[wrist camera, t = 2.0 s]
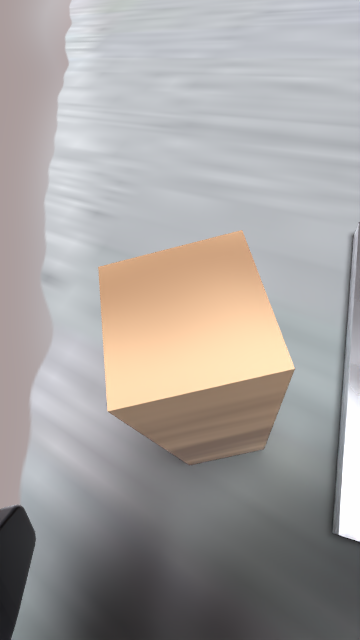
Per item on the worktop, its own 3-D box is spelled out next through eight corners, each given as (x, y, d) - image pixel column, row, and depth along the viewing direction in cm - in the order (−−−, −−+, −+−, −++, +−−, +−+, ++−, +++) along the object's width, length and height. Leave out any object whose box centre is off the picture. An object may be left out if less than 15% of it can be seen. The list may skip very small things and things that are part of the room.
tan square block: (263, 449, 17) (294, 368, 7) (189, 465, 17) (107, 411, 7) (243, 377, 19) (242, 229, 9) (176, 392, 19) (98, 266, 9)
